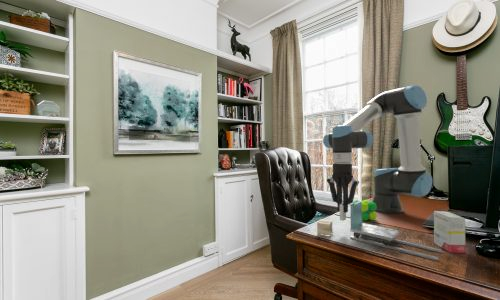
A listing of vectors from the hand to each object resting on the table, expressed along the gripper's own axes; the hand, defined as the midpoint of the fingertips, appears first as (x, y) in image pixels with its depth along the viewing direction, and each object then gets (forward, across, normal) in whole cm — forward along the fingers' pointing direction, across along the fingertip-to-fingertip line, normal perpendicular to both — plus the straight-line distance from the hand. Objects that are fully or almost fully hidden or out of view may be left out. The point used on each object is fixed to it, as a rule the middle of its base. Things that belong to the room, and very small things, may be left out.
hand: (342, 219), depth 98 cm
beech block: (+6, -5, -6) cm, 10 cm away
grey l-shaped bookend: (+5, +12, 0) cm, 13 cm away
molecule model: (+6, 0, +25) cm, 26 cm away
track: (+5, +18, 0) cm, 19 cm away
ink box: (+6, +33, +10) cm, 35 cm away
